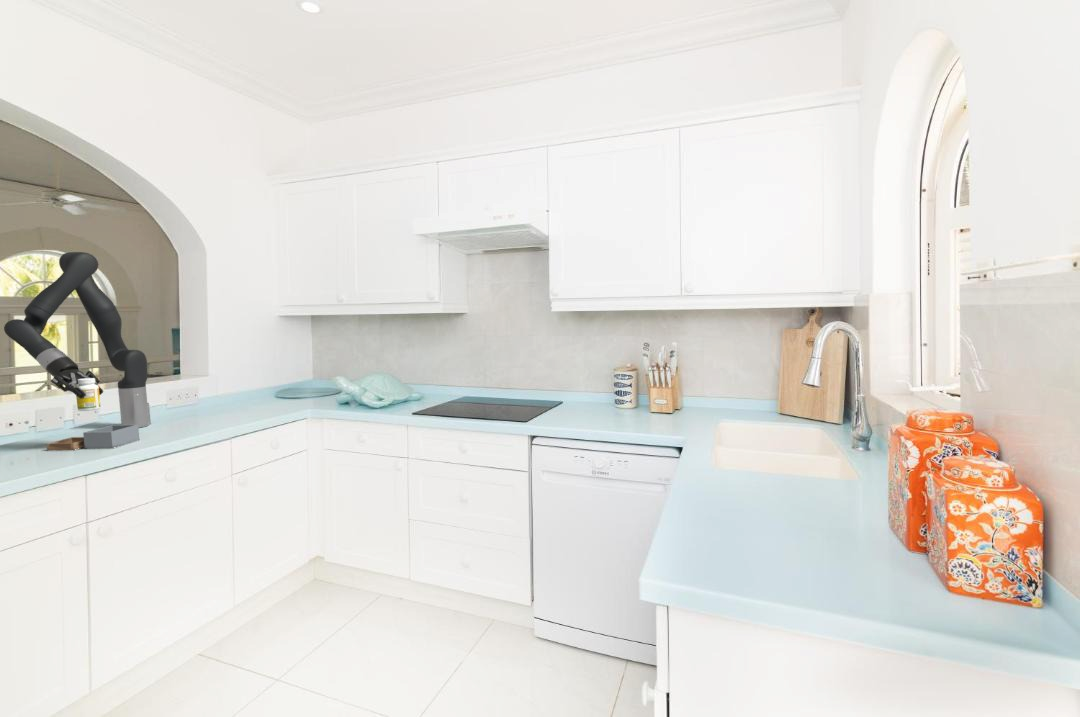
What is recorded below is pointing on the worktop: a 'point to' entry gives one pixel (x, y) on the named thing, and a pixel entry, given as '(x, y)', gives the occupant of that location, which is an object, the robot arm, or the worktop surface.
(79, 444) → the wooden tray
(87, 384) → the supplement bottle
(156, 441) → the worktop surface
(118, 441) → the bin
